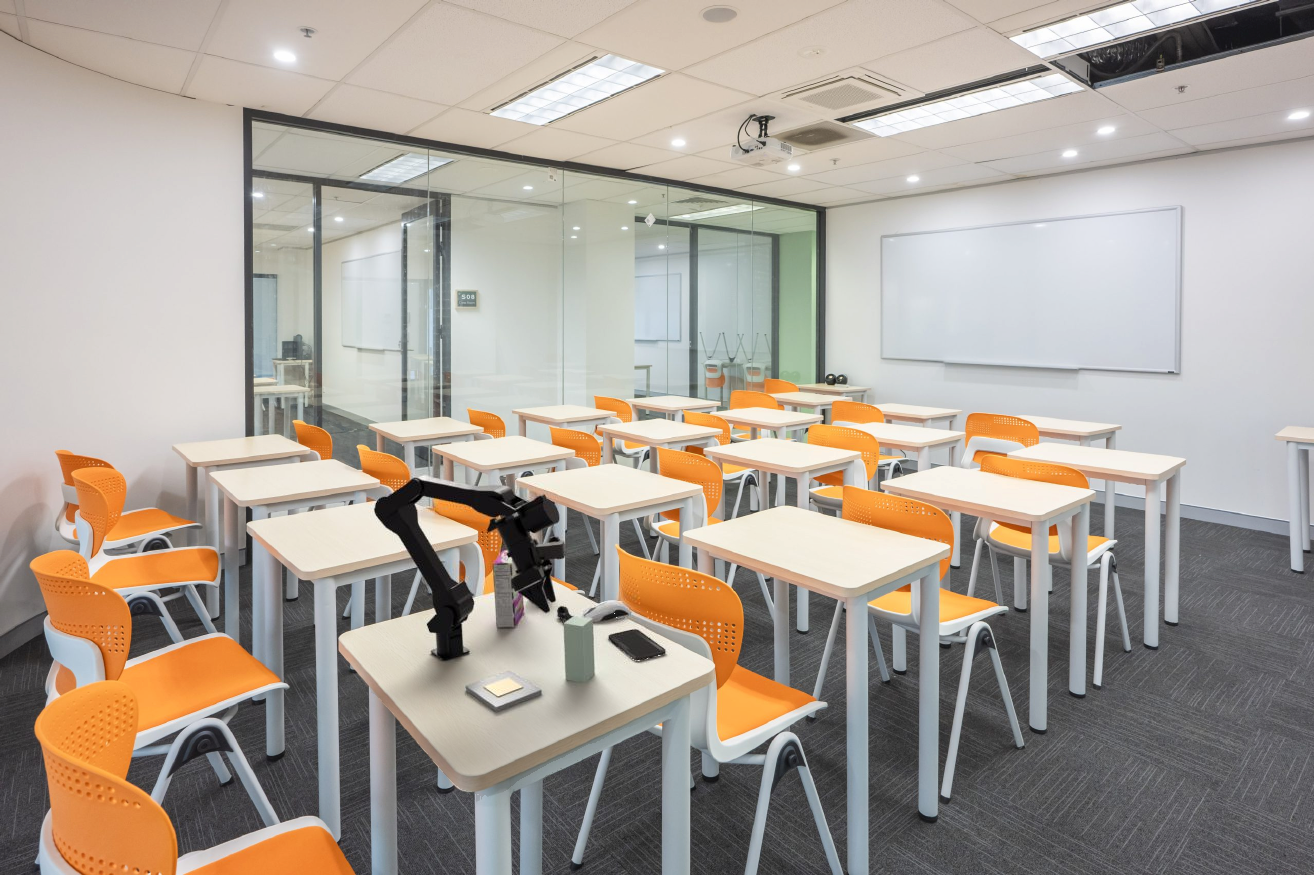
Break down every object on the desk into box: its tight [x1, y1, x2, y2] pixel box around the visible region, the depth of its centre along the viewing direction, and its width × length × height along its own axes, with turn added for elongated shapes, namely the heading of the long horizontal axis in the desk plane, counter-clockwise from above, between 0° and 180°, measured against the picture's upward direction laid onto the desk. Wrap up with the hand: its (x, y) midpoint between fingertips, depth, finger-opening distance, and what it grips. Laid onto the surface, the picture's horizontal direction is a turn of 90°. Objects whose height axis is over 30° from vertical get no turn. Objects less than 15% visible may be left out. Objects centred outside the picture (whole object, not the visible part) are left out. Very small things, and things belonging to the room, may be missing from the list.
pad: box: [465, 669, 543, 713], centre depth 144 cm, size 12×10×1 cm
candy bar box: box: [492, 549, 525, 629], centre depth 181 cm, size 11×5×16 cm, turn 179°
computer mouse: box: [556, 599, 632, 624], centre depth 183 cm, size 10×18×4 cm, turn 116°
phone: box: [607, 628, 667, 661], centre depth 165 cm, size 8×1×15 cm
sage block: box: [563, 615, 596, 684], centre depth 149 cm, size 4×4×12 cm
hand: (551, 606), depth 156 cm, fingers open, 9 cm apart
